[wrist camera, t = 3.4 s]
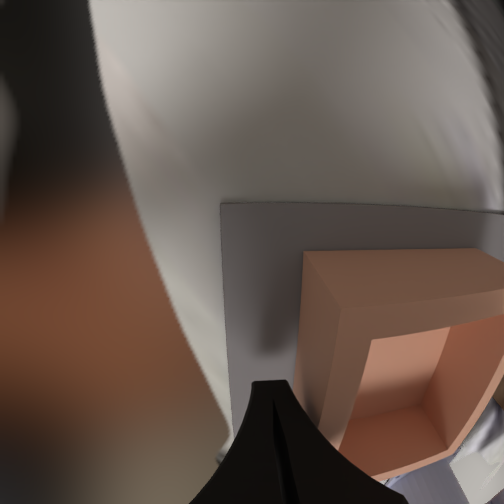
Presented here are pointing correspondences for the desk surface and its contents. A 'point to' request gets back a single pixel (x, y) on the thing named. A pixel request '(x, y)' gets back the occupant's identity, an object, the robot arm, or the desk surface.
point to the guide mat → (291, 266)
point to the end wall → (500, 393)
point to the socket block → (398, 351)
